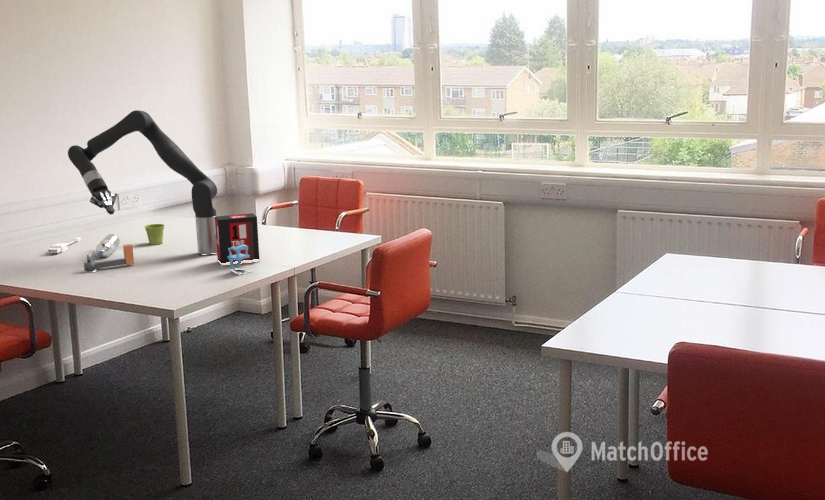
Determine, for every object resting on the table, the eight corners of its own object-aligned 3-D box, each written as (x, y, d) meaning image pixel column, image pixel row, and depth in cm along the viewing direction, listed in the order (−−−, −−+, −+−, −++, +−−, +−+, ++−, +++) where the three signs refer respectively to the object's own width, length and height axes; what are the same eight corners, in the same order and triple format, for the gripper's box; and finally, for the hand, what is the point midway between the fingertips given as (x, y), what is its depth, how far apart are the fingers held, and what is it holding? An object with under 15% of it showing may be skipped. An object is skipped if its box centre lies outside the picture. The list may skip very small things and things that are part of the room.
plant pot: (163, 245, 424) (161, 227, 422) (143, 246, 424) (141, 228, 422) (168, 241, 433) (167, 223, 431) (149, 241, 433) (147, 224, 431)
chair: (240, 269, 377) (238, 241, 374) (253, 271, 372) (251, 243, 369) (225, 272, 371) (223, 244, 368) (238, 275, 366) (237, 247, 363)
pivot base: (99, 269, 381) (97, 253, 380) (95, 272, 375) (93, 256, 374) (85, 269, 381) (83, 253, 379) (80, 273, 375) (78, 256, 373)
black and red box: (221, 266, 383) (218, 220, 378) (217, 261, 391) (214, 216, 386) (259, 262, 388) (256, 216, 384) (255, 257, 396) (252, 213, 392)
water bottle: (121, 235, 421) (110, 247, 396) (118, 249, 422) (107, 261, 398) (106, 231, 419) (94, 243, 395) (103, 245, 421) (91, 258, 397)
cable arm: (85, 271, 375) (83, 251, 373) (83, 269, 379) (81, 250, 377) (134, 264, 385) (132, 245, 383) (131, 262, 389) (130, 243, 387)
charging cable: (84, 242, 440) (84, 235, 440) (58, 254, 409) (57, 247, 408) (74, 242, 440) (73, 235, 440) (47, 254, 409) (46, 247, 408)
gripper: (83, 179, 389) (100, 210, 383) (111, 175, 398) (128, 205, 393) (78, 190, 393) (95, 221, 388) (106, 186, 403) (123, 216, 397)
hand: (112, 213), depth 390 cm, fingers closed
